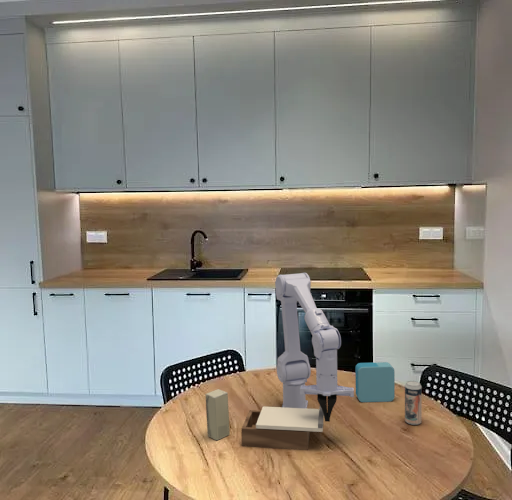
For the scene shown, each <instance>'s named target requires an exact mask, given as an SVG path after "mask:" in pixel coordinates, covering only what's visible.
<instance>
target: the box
mask: <svg viewBox="0 0 512 500" xmlns="http://www.w3.org/2000/svg"><path fill="white" fill-rule="evenodd" d="M228 394H229V393H228V392H227V391H224V390H221V389H219V388H218V389H215V390H213V391H209V392H207V393H205V411H206V429H207V437H209V438H211V439H213V440H215V441H219V440H221V439H223V438H225V437H227V436H229V435H230V429H231V428H230V415H229V412H230V410H229V395H228Z"/></svg>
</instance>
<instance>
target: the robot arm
mask: <svg viewBox="0 0 512 500" xmlns="http://www.w3.org/2000/svg"><path fill="white" fill-rule="evenodd" d="M274 283H275V284H274V287H275V296H276V300H278V301H280V303H281V304H280V305H281V318H282V329H283V339H284V342H283V343H284V351H283V352H282V354H281V355H279V356H278V357H277V363H276V375H277V379H278V381H280V382H281V383H282V401H283V402H282V405H281V407H285V408H307V409H308V404H309V400H306V395H313V396H314V395H316V396H317V398H316V399H317V402H318V404H319V407H320V406H321V408H322V411H323V414H324V422H331V414H332V412H333V409H334V408H335V407H334V406H335V405H336V403H337V400H338V399H337V396H339V397H340V396H342V397H343V396H344V397H345V396H347V397H350V398H355V397H354V396H355V388H354V387H349V386H343V385H338V350H339V349H340V348H341V346H342V337H341V334H340V332H339V330H338V328H336V327H334V325H331V324H330V322H329V320H328V318H327V317H326V315H325V313H324V311H323V310H322V309H321V308H317V306H316V303H315V301H314V298H313V296H312V293H311V286H312V284H311V283H312V282H311V278H310V275H309V274H308V273H307V272H301V273H290V274H289V273H287V274H278V275H277V277H276V279H275V281H274ZM297 303H298V304H299V305H300V307H301V308H302V311H304V313H305V314H304V317H303V318H304V321H305V324H306V325H307V327H308V329H309V331H310V334H311V335H312V337H311V345H312V348H313V355H314V357H315V365H316V366H315V371H316V374H315V376H316V377H315V378H316V384H310V385H306V383H307V382H308V379H310V377H311V373H312V372H311V371H312V369H311V365H310V361H309V357H308V355H307V354H305V353H304V352H303V351H301V342H300V341H301V340H300V328H299V317H298V306H297Z"/></svg>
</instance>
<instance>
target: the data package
mask: <svg viewBox="0 0 512 500" xmlns="http://www.w3.org/2000/svg"><path fill="white" fill-rule="evenodd" d="M354 369H355V374H354V375H355V395H356V397H357V399H358V400H359V402H361V403H380V402H381V403H383V402H384V403H385V402H387V403H389V402H392V401H394V399H395V397H396V396H395V392H396V391H395V368H394V367H393V366H392V365H391V363H390V362H387V361H385V362H382V361H381V362H380V361H379V362H377V361H376V362H358V363H357V364H356V365H355V368H354Z"/></svg>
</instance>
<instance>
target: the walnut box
mask: <svg viewBox="0 0 512 500" xmlns="http://www.w3.org/2000/svg"><path fill="white" fill-rule="evenodd" d="M260 413H261V410H257V409H256V410H255V409H249V410H248V412H247V416H246V418H245V420H244V422H243V424H242V426H241V446H242V447H249V448H251V447H253V448H270V449H283V450H284V449H286V450H299V451H308V450H309V442H310V436H311V431H295V430H277V429H258V428H256V423H257V421H258V418H259V415H260Z"/></svg>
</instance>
